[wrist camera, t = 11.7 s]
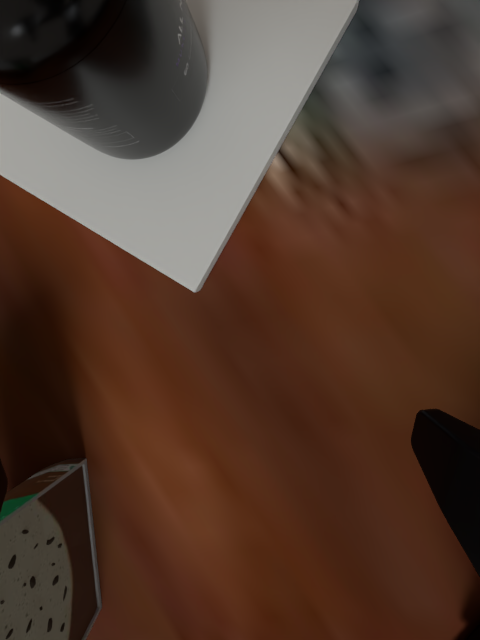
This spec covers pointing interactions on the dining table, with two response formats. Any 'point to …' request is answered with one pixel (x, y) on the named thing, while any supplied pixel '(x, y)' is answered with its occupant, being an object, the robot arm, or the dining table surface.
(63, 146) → the pad
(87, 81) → the supplement bottle
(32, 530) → the food container
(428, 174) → the dining table surface
